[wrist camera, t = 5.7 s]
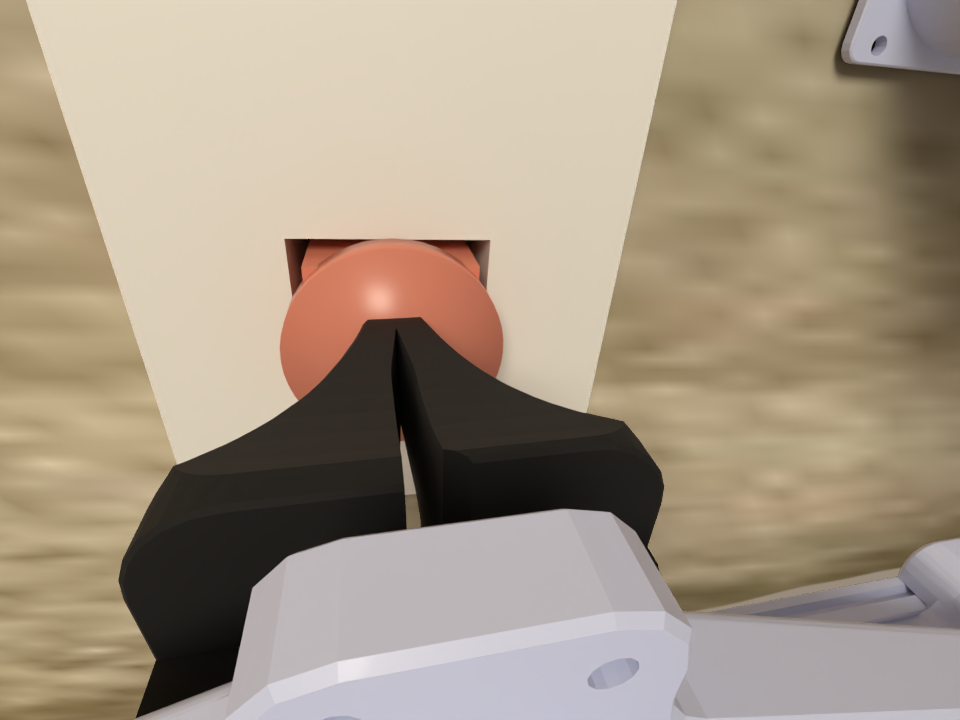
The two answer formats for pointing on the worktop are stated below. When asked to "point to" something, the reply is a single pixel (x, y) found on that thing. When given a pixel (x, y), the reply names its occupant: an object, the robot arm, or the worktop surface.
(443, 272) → the red button
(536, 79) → the control box
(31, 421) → the worktop surface
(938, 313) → the worktop surface
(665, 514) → the worktop surface
